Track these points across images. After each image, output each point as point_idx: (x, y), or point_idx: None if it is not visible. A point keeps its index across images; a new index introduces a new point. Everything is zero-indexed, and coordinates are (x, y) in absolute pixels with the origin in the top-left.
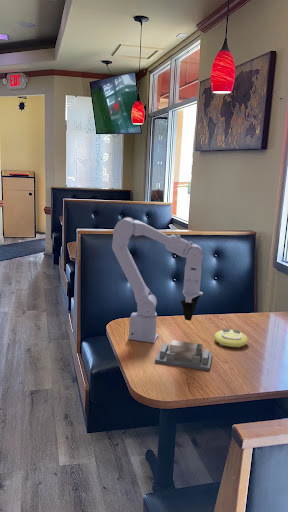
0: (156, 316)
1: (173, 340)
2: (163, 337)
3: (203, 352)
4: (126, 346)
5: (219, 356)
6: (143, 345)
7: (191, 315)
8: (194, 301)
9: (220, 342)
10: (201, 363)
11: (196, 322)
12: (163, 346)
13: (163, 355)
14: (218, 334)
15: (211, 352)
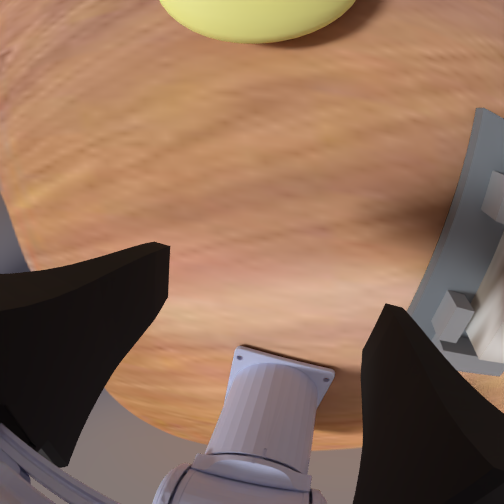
0: (267, 455)
1: (485, 353)
2: (256, 325)
3: (485, 160)
4: (361, 432)
5: (479, 71)
6: (356, 397)
7: (427, 346)
8: (70, 327)
9: (339, 16)
10: None
11: (37, 152)
12: (467, 368)
13: None
14: (253, 13)
15: (483, 112)
